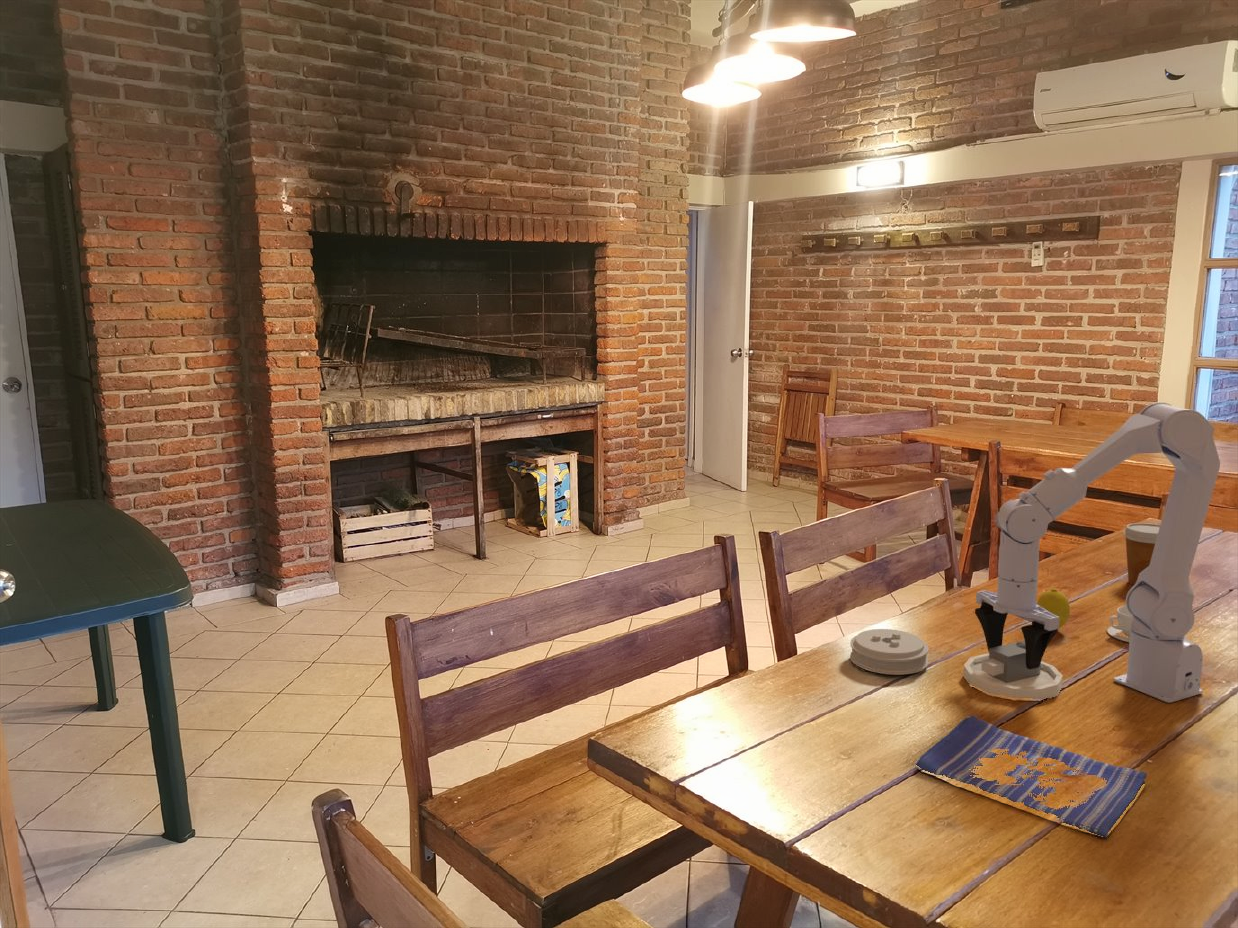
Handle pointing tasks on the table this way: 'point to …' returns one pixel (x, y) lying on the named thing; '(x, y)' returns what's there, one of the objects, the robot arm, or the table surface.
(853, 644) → the lid
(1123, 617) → the teacup
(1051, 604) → the lemon
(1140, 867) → the table surface
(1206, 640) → the table surface
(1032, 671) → the connector
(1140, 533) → the disposable coffee cup
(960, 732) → the dish towel
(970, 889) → the table surface
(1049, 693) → the plate
